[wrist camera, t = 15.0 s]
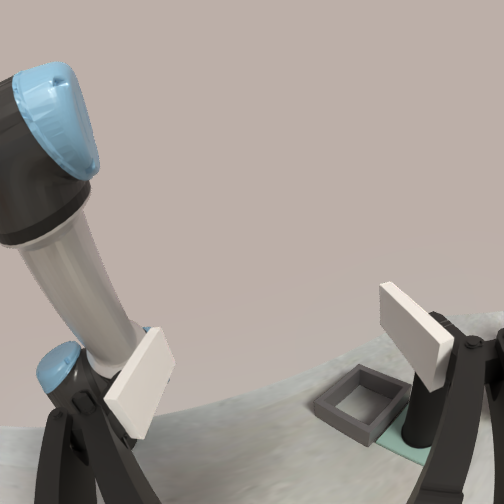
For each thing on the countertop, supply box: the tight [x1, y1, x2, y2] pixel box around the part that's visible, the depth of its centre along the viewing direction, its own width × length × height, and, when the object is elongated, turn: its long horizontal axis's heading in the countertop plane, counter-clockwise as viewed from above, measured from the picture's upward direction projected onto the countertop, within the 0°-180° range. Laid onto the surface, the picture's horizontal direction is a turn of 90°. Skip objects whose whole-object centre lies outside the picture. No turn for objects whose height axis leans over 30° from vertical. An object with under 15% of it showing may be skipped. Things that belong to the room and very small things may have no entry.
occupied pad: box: [376, 403, 431, 466], centre depth 31 cm, size 12×12×1 cm
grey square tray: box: [314, 364, 412, 447], centre depth 41 cm, size 13×13×4 cm
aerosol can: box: [401, 372, 450, 449], centre depth 28 cm, size 8×8×20 cm
